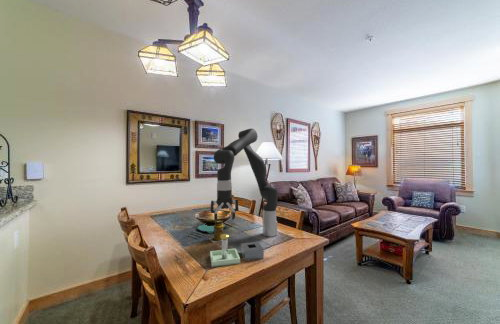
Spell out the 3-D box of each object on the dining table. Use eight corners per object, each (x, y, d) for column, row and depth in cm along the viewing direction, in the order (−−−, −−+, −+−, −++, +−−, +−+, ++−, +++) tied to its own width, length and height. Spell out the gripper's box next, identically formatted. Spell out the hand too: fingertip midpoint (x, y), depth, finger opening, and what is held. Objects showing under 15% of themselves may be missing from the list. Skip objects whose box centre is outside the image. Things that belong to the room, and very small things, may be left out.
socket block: (258, 250, 118) (258, 241, 118) (263, 258, 108) (263, 249, 108) (240, 252, 115) (240, 243, 115) (245, 260, 105) (245, 251, 105)
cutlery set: (230, 227, 157) (229, 224, 157) (198, 241, 133) (198, 237, 132) (211, 223, 168) (211, 220, 168) (180, 234, 144) (180, 231, 144)
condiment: (225, 240, 133) (225, 221, 133) (213, 242, 128) (213, 223, 128) (220, 236, 139) (220, 218, 139) (208, 239, 134) (208, 220, 134)
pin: (228, 255, 110) (228, 233, 109) (229, 259, 105) (229, 236, 105) (219, 256, 108) (220, 234, 108) (220, 260, 104) (221, 237, 104)
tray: (235, 252, 114) (235, 248, 114) (240, 263, 103) (240, 258, 103) (210, 255, 111) (210, 251, 111) (211, 267, 99) (211, 262, 99)
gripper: (236, 187, 112) (236, 216, 112) (209, 188, 108) (210, 219, 108) (239, 189, 104) (239, 221, 105) (210, 190, 101) (211, 223, 101)
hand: (224, 220), depth 106 cm, fingers open, 8 cm apart
